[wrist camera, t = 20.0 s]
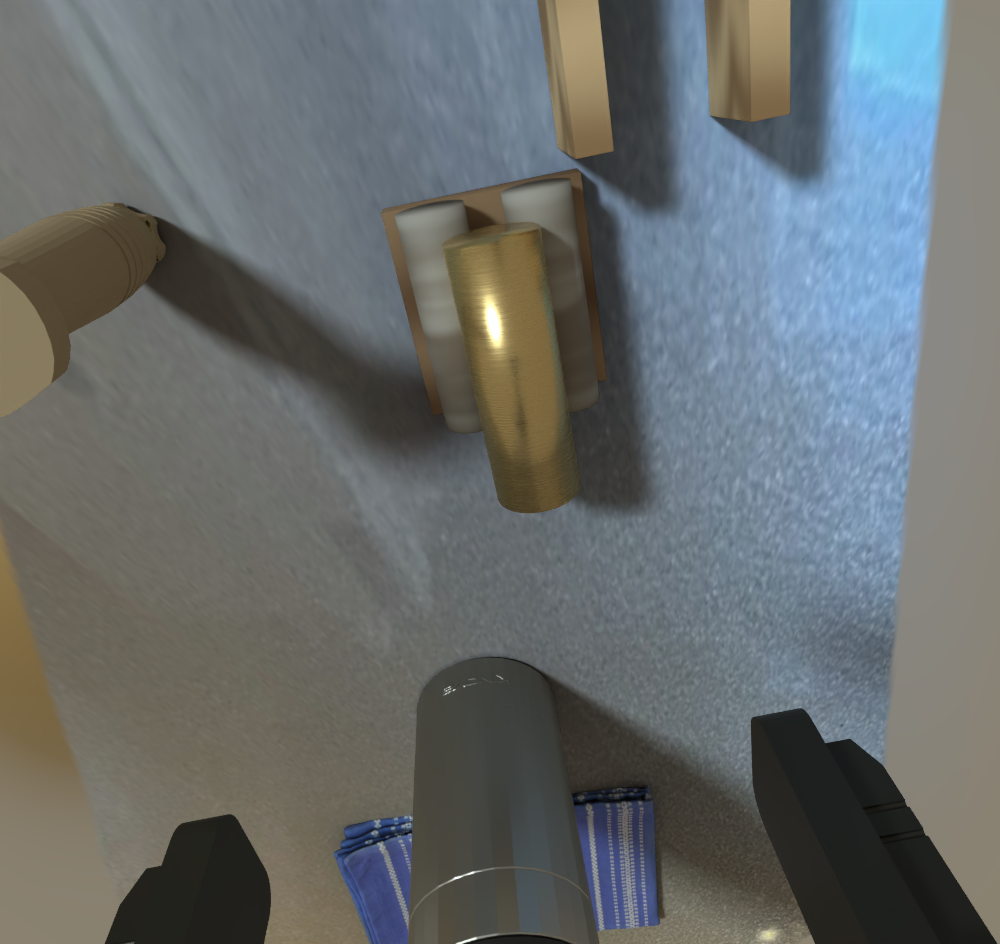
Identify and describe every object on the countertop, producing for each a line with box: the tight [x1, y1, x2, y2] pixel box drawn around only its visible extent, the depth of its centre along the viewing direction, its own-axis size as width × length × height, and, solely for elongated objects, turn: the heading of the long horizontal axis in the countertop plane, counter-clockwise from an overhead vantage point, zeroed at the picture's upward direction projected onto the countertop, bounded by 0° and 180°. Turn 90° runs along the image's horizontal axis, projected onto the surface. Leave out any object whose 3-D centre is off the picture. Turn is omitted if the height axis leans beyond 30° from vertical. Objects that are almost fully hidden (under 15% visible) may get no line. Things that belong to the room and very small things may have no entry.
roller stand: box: [381, 168, 607, 433], centre depth 34 cm, size 10×9×4 cm
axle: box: [442, 222, 581, 513], centre depth 32 cm, size 12×4×4 cm, turn 11°
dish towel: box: [334, 785, 660, 944], centre depth 57 cm, size 17×24×3 cm
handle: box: [0, 202, 166, 417], centre depth 27 cm, size 5×6×15 cm
